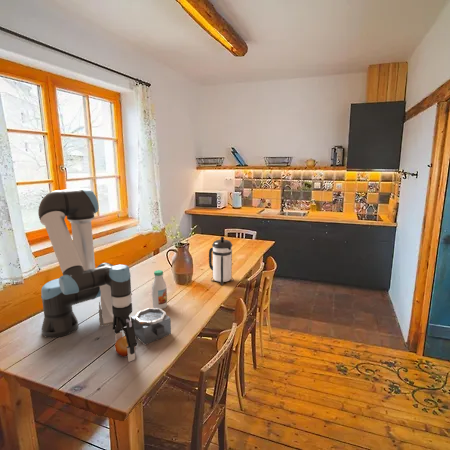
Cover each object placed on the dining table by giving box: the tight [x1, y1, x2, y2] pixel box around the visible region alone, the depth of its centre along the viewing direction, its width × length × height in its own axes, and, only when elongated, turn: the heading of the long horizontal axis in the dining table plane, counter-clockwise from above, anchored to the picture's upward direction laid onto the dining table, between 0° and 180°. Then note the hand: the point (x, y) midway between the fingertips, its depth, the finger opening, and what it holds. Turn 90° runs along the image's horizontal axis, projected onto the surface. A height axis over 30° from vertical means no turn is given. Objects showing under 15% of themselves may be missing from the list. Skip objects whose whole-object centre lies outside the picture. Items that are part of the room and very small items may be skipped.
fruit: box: [114, 335, 128, 358], centre depth 128 cm, size 8×8×8 cm
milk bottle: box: [151, 269, 168, 310], centre depth 168 cm, size 8×8×20 cm
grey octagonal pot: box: [130, 307, 172, 345], centre depth 142 cm, size 13×15×9 cm
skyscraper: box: [98, 284, 114, 327], centre depth 151 cm, size 8×8×28 cm
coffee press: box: [208, 236, 234, 286], centre depth 203 cm, size 17×16×30 cm
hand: (125, 353), depth 129 cm, fingers open, 11 cm apart
